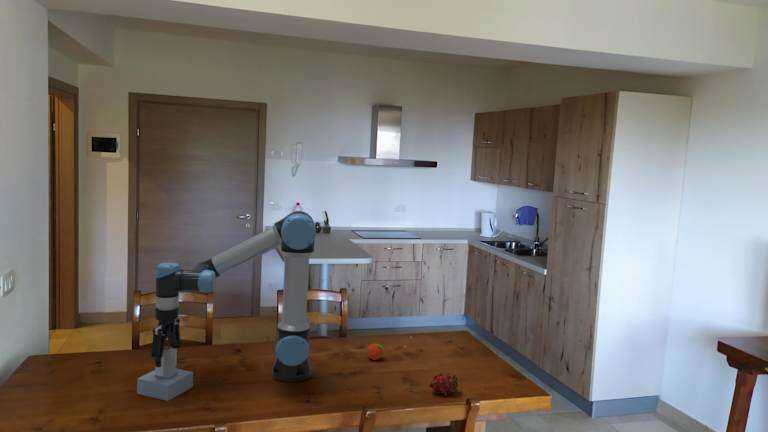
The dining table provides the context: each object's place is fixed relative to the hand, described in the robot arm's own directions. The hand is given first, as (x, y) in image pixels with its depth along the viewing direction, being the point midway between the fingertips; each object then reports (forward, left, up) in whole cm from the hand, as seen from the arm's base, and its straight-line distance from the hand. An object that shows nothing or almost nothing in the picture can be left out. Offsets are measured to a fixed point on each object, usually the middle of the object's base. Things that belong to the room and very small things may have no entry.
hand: (166, 370), depth 194 cm
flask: (0, 0, -2) cm, 2 cm away
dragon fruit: (-97, -24, -7) cm, 100 cm away
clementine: (-67, -51, -7) cm, 85 cm away
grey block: (0, 0, -8) cm, 8 cm away
